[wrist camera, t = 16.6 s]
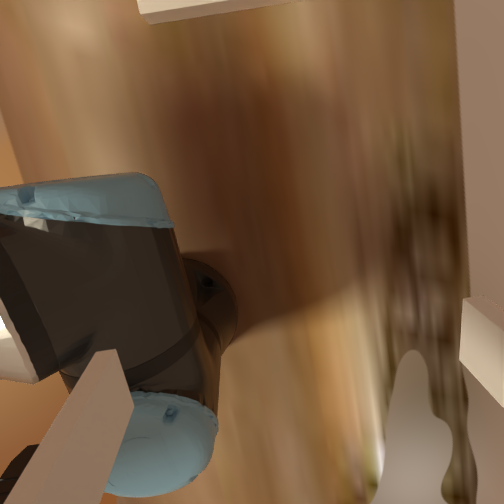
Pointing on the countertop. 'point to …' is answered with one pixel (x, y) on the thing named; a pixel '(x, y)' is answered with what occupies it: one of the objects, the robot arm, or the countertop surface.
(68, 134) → the countertop surface
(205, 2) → the box
